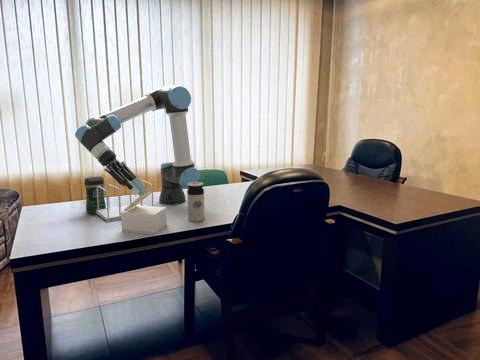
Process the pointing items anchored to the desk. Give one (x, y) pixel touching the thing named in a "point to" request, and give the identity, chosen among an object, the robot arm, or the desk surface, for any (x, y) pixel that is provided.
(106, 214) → the file sorter
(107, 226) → the desk surface
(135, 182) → the flap
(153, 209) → the carton
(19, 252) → the desk surface
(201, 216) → the dark labelled jar
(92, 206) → the coffee jar
